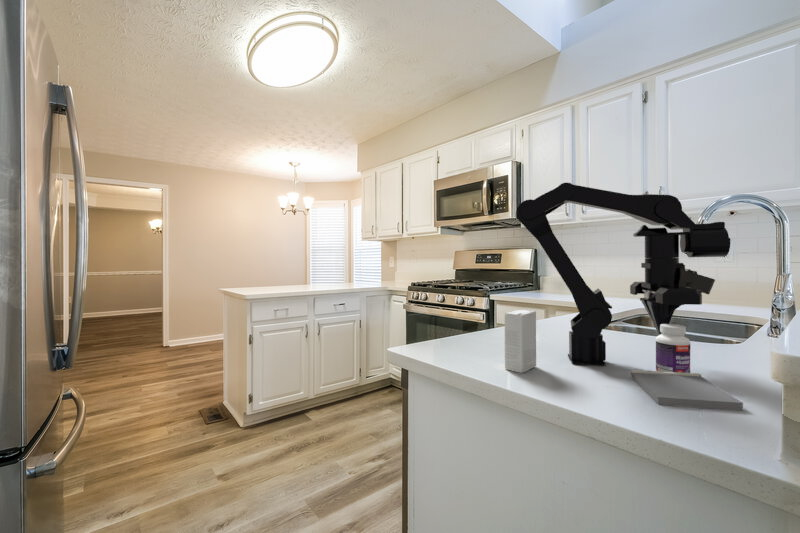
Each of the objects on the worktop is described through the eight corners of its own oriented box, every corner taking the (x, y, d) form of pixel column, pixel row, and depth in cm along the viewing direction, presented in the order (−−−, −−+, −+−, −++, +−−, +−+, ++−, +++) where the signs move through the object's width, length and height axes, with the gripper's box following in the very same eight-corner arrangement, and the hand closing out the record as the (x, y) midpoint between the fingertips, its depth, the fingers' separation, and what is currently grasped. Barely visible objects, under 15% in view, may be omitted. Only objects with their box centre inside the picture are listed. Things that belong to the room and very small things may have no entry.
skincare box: (518, 363, 82) (517, 308, 82) (537, 367, 79) (537, 310, 78) (503, 369, 78) (502, 312, 77) (523, 374, 75) (522, 314, 74)
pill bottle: (681, 382, 68) (681, 329, 68) (650, 374, 73) (649, 324, 72) (696, 376, 70) (696, 326, 70) (665, 369, 75) (665, 321, 75)
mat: (658, 404, 58) (658, 395, 58) (631, 377, 71) (631, 369, 71) (742, 410, 55) (742, 400, 55) (698, 381, 68) (698, 373, 68)
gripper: (737, 257, 65) (736, 346, 65) (685, 256, 83) (685, 325, 83) (663, 259, 68) (664, 344, 68) (629, 257, 86) (629, 324, 86)
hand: (661, 333), depth 76 cm, fingers closed
